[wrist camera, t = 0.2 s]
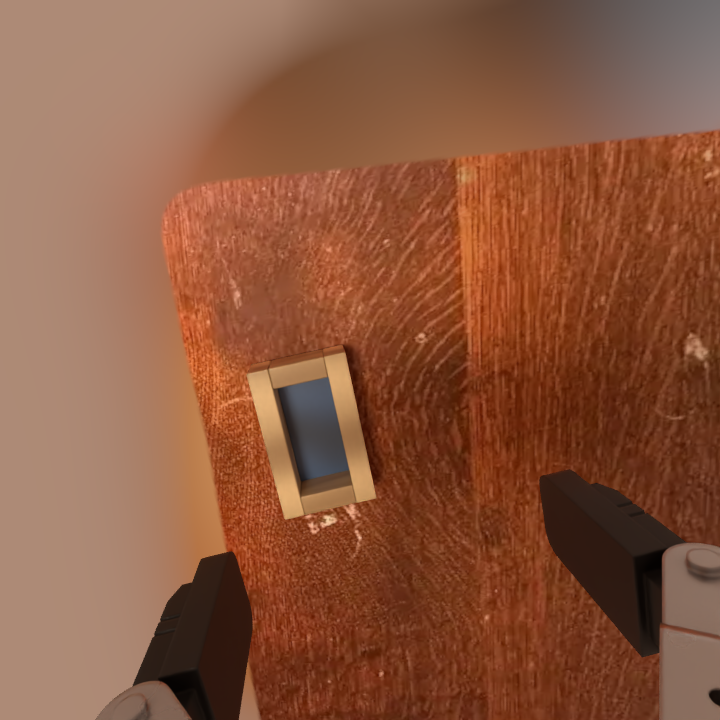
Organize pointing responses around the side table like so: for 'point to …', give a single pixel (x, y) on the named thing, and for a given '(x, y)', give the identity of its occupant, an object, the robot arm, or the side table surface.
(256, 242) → the side table surface
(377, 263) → the side table surface
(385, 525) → the side table surface
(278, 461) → the frame
